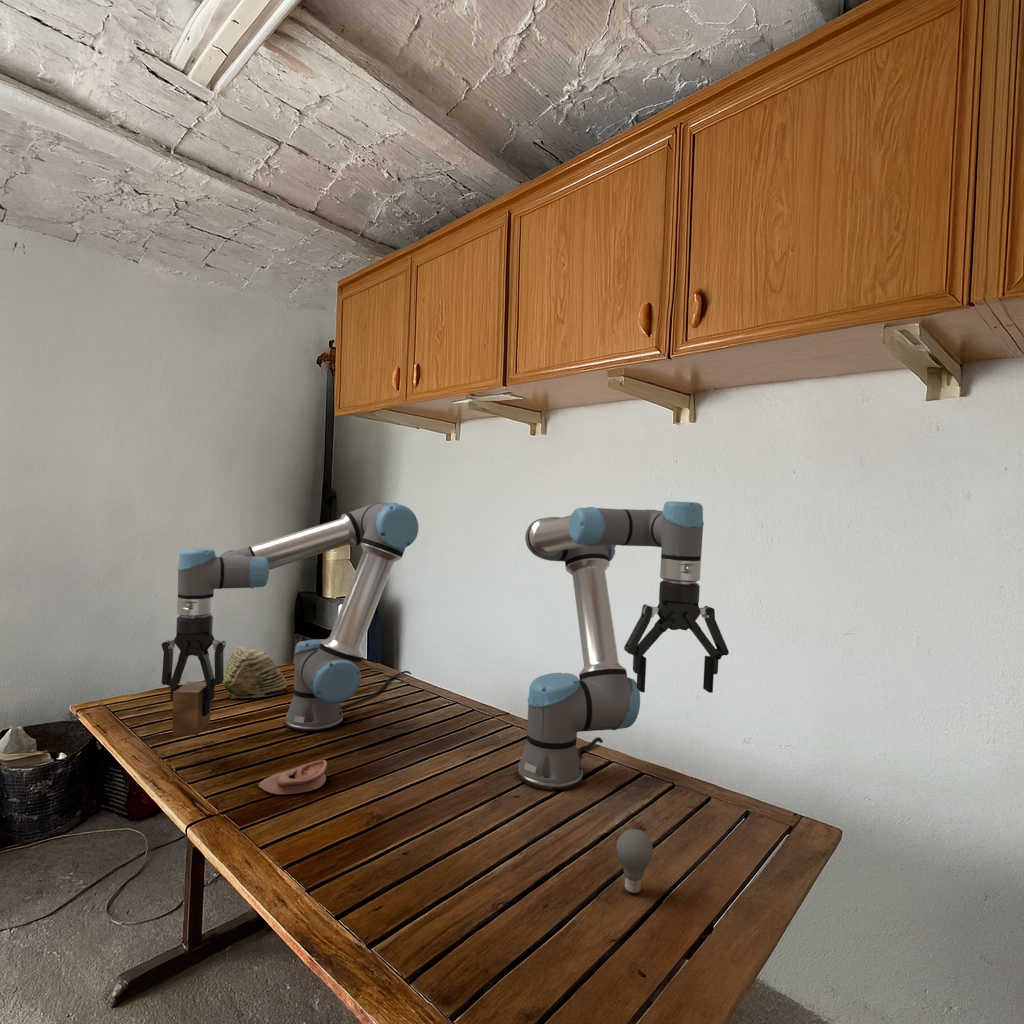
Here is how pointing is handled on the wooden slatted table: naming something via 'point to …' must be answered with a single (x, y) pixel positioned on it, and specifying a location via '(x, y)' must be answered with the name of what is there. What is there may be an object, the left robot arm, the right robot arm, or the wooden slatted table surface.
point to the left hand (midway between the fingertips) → (191, 714)
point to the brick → (189, 709)
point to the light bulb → (634, 857)
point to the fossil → (252, 674)
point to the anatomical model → (296, 779)
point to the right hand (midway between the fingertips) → (674, 690)
